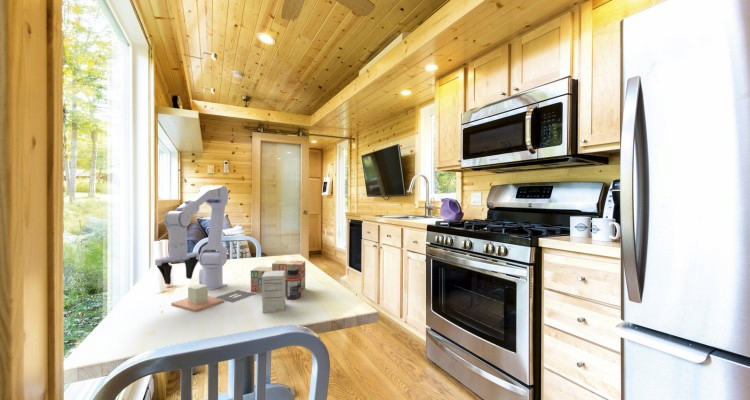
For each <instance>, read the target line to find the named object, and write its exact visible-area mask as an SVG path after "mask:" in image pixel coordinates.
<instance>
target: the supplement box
mask: <svg viewBox="0 0 750 400" xmlns="http://www.w3.org/2000/svg"><path fill="white" fill-rule="evenodd" d="M261 297H262V298H261V301H262V303H261V304H262V310H261V311H262V313H275V312H276V313H277V312H278V313H279V312H284V311H285V309H286V308H285V307H286V303H287V302H286V293H285V271H265V272H264V274H263V276H262V292H261Z"/></svg>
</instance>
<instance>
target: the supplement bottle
mask: <svg viewBox="0 0 750 400" xmlns="http://www.w3.org/2000/svg"><path fill="white" fill-rule="evenodd" d="M298 272H299V271H298V268H289V269H288V274H287V275H286V277H285V284H286V293H285V299H288V300H297V299H299V298H301V297H302V293H301V274H300V273H298Z"/></svg>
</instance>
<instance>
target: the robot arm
mask: <svg viewBox="0 0 750 400" xmlns="http://www.w3.org/2000/svg"><path fill="white" fill-rule="evenodd" d="M198 190H199V192H198V193H197V194H196V195H195V196H194V197H193V198H192V199H185V200H184V201H183V203H182V204H181V205H179V206H177V207H176V209H174V210H170V211H168V212H167V213H166V214H165V216H164V218H163V223H164V225H165V227H166V231H167V232H168V233H167V235H168V256H165V257H161V258H157V259H155V260H154V262H155V263H154V265H155V266H156V268H157V269H158V270H159V272H160V273H161V276H162V278H163V281H164V285H171V281H172V280H171V279H172V278H171V273H172V270H173V269H172V268H173V265H171V263H178V262H182V261H184V265H185V277H186V279H188V280H189V279H191V280H192V279H193V275H194V272H195V268H196V266H197V264H198V263H199V265H200V266H201V267H200V269H199V272H198V282H199V283H198V285H199V284H202V285H206V286H208V290H209V291H212V290H216V289H220V288H223V287H227V286H228V284H227V283H224V282H223V280H224V279H223V278H224V277H223V266H224V265H225V264H226V262H227V261H228V255H227V248H226V247H225V246H224V245H222V235H223V227H224V221H225V220H224V219H225V218H224V217H225V211H226V210H225V209H226V206H228V201H229V194H230V193H229V192H230V191H228V187H227V186H226V185H223V184H222V185H202V186H201V187H200V188H198ZM204 203H205V204H206V205H207V206H210V207H211V211H210V213H211V214H210V221H209V230H208V236H207V237H208V238H207V243H206V244H205V245H204V246H202V247H201V249H200V252H197V251H195V252H189V253H188V226H189V225H190V224H191V221H192V219H193V217H194V216H195V214H197V213H198V212H199V211H200V206H202V205H203V204H204Z"/></svg>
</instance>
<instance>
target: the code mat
mask: <svg viewBox="0 0 750 400" xmlns="http://www.w3.org/2000/svg"><path fill="white" fill-rule="evenodd" d="M255 295H256V293H255V292H249V291H248V292H247V291H243V290H240V289H237V290H233V291H230V292H227V293H225V294H221V295H217V296H215V297H214V298H219V299H223V300H224V302H229V303H231V304H233V303H235V302H237V301H241V300H244V299H248V298H249V297H252V296H255Z"/></svg>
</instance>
